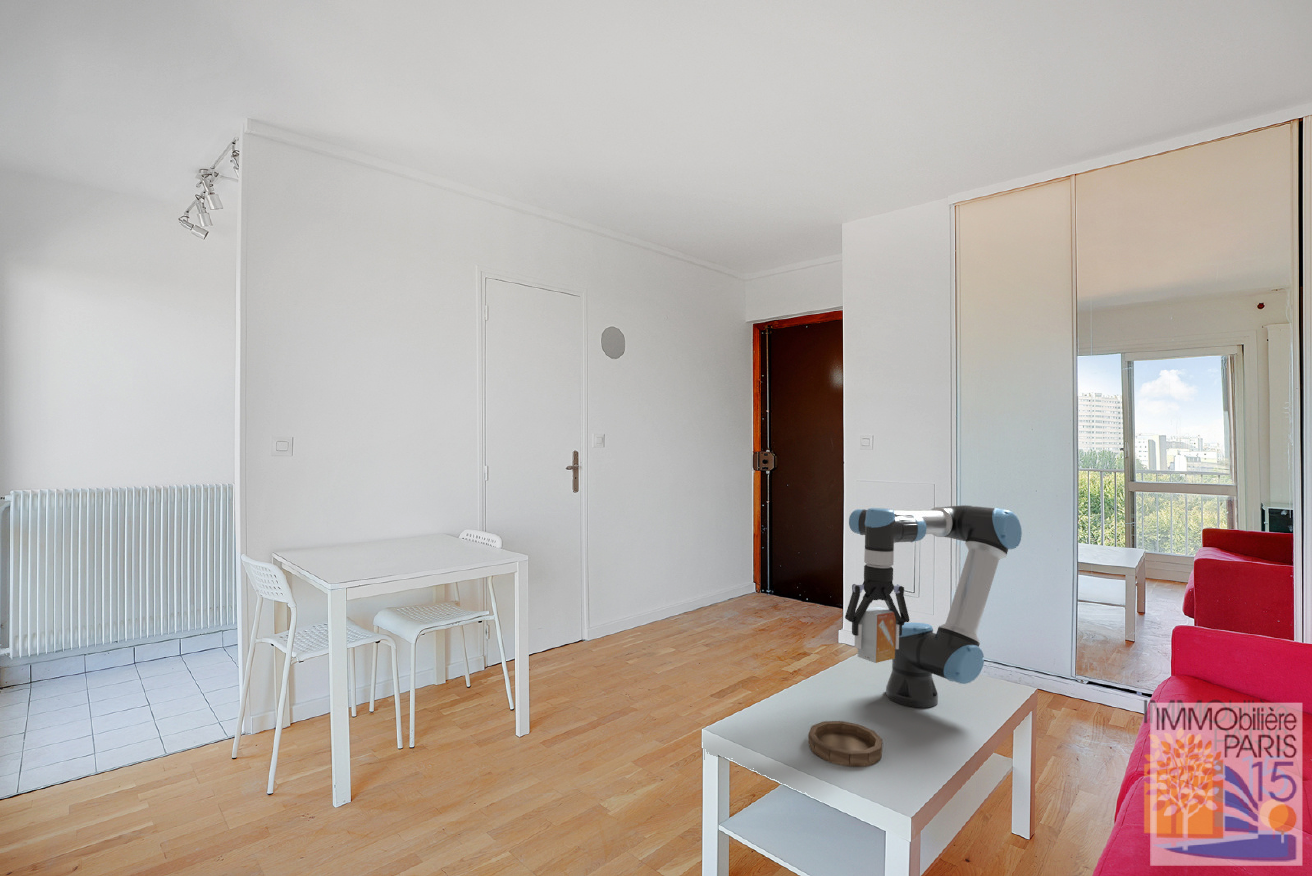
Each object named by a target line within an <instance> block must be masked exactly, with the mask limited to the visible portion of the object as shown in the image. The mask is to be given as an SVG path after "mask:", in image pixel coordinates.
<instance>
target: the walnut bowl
mask: <svg viewBox="0 0 1312 876" xmlns="http://www.w3.org/2000/svg"><path fill="white" fill-rule="evenodd" d="M807 737H808V739H807V741H808V744H809V749H810V750H811V752H812V753H813V754H814V755H816V756H817V757H818V758H820V759H821V760H824V761H825V762H828V763H831V764H835V765H838V766H843V767H849V768H850V767H852V768H862V767H869V766H873V765H875V764H877V763H879V762H880V761H881V759H882V754H883V742H884V741H883V739H882V737H881V736H880V735H879V734H878V733H877V732H876V731H875V730H873V729H870V728H868V727H866V726H864V725H861V724H858V723H854V722H849V721H844V720H828V721H827V720H826V721H821V722H818V723H816V724H813V725H811V726H810V729H809V731H808V736H807Z"/></svg>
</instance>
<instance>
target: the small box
mask: <svg viewBox="0 0 1312 876" xmlns="http://www.w3.org/2000/svg"><path fill="white" fill-rule="evenodd" d="M859 623H860V624H861V625H862V637H861V649H858V648H857V658H860V659H863V660H865V661H868V662H871V663H874V664H878V663H882V662H885V661H889V660H891V661H892V659H895V627H896V617H895V615H894V612H893V611H891V610H889V608H885V607H882V606H873V607H872V606H871V607H868V608H867V610H866V612H865V613H864V615H863V617H862V619H861V620H860V622H859Z"/></svg>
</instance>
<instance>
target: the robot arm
mask: <svg viewBox="0 0 1312 876" xmlns="http://www.w3.org/2000/svg"><path fill="white" fill-rule="evenodd" d="M848 526H849V529H850V530H851V531H852V533H854V534H859V535H861V536H864V555H863V556H864V558H863V559H864V562H863V563H865V564H864V565H863V582H862V584H855V583H854V584H852V586H851V591H852V592H851V596H850V599H849V603H848V605H847V609H846V613H845V615H844V618H845V620H847V622H850V623H851V634H852V635H853V636H854V647H855V648H857V650H858V649H861V637H862V625H861V624H860V623H859V622H860V620H861V619H862V617H863V615H864V613H865V612H866V610H867V608H869V606H870V604H872V603H873V601H879V600H880V601H884V602H885V605H886V606H887V609H889V610H891V611H893V612H894V615H895V617H896V627H895V659H891V662H892V663H891V664H892V666H891V673H890V676H889V678H888V680H887V684H886V686H885V687H886V688H885V696H886V697H887V698H888V699H889V700H891V701H892V702H895V703H896V704H899V705H902V706H905V707H912V708H921V709H922V708H924V709H925V708H931V707H935V706H936V705H937V704H938V703H939V694H938V690H937V687H936V684H935V680H934V678H933V675H935V676H938V677H940V678H943V679H946V680H947V681H949V682H955V683H958V684H961V685H967V684H970V683H972V682H973V681H975V680H976V679H977V678H978V677H979V675H980V674H981V673H982V670H983V667H984V663H985V659H984V657H985V656H984V652H983V650H982V649H981V648H980V644H981V641H980V639H979V638H978V636H977V634H978V630H979V628H980V624H981V621H982V616H983V614H984V611H985V608H986V605H987V601H988V597H989V594H990V591H991V587H992V585H993V582H994V579H995V574H996V573H997V572H996V571H997V568H998V565H999V561H1001V560H1003V559H1005V558H1006V557H1007V555H1008V552H1009V550H1014V549H1016V548H1017V547H1019V545H1020V543H1021V541H1022V534H1023V533H1022V525H1021V523H1020V519H1019V517H1018V516H1017V515H1016V514H1015V513H1014V512H1013V511H1011V510H1008V509H1004V508H1003V509H1002V508H999V507H986V506H985V507H984V506H977V505H976V506H974V505H966V504H965V505H963V504H962V505H952V506H951V505H950V506H936V507H933V508H931V509H930V510H929V509H927V510H922V509H921V510H920V509H918V510H916V509H915V510H909V509H908V510H907V509H906V510H904V509H903V510H902V509H901V510H896V509H894V510H893V509H891V508H884V507H881V508H880V507H879V508H878V507H870V508H867V509H864V508H863V509H860V508H859V509H858V508H857V509H855V510H853V511H852V512H851V513H850V515H849V518H848ZM926 535H933V536H935V537H937V538H949V539H954V540H957V541H961V542H965V543H964V544H965V546H966V548H967V549H968V552H967V556H966V557H965V560H964V564H963V567H962V570H961V574H960V577H959V581H958V584H957V586H956V590H955V592H954V596H953V599H952V602H951V605H950V609H949V612H948V614H947V618H946V620H945V623H944V624H941V625H938V627H937V631H936V633H935V632H934V627H933V626H932V625H931V624H930V623H929V624H928V623H924V622H910V615H909V611H908V607H907V604H906V600H905V596H904V595H905V587H904V586H902V585H901V584H893V581H894V568H893V567H892V566H894V560H895V559H894V553H895V552H894V551H895V550H894V549H895V544H896V543H914V542H918V541H921V540H923V539H924V538H925V536H926ZM863 591H864V592H865V593H864V594H863V596H862V600H861V601H860V603H859V600H860V597H861V593H862V592H863ZM892 592H894V593H895V599H896V603H897V606H898V609H897V607H896V605H895V603H894V601H893V598H892V596H891V594H892ZM858 603H859V605H858Z"/></svg>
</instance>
